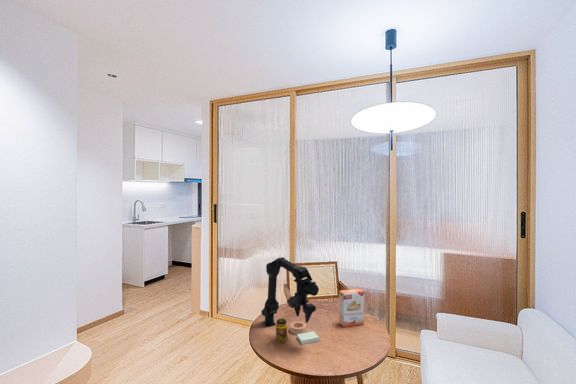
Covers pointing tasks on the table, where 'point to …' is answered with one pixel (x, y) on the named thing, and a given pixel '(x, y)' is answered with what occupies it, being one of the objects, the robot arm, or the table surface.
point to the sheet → (307, 337)
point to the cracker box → (351, 307)
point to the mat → (306, 343)
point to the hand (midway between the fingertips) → (302, 319)
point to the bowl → (298, 328)
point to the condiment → (281, 331)
